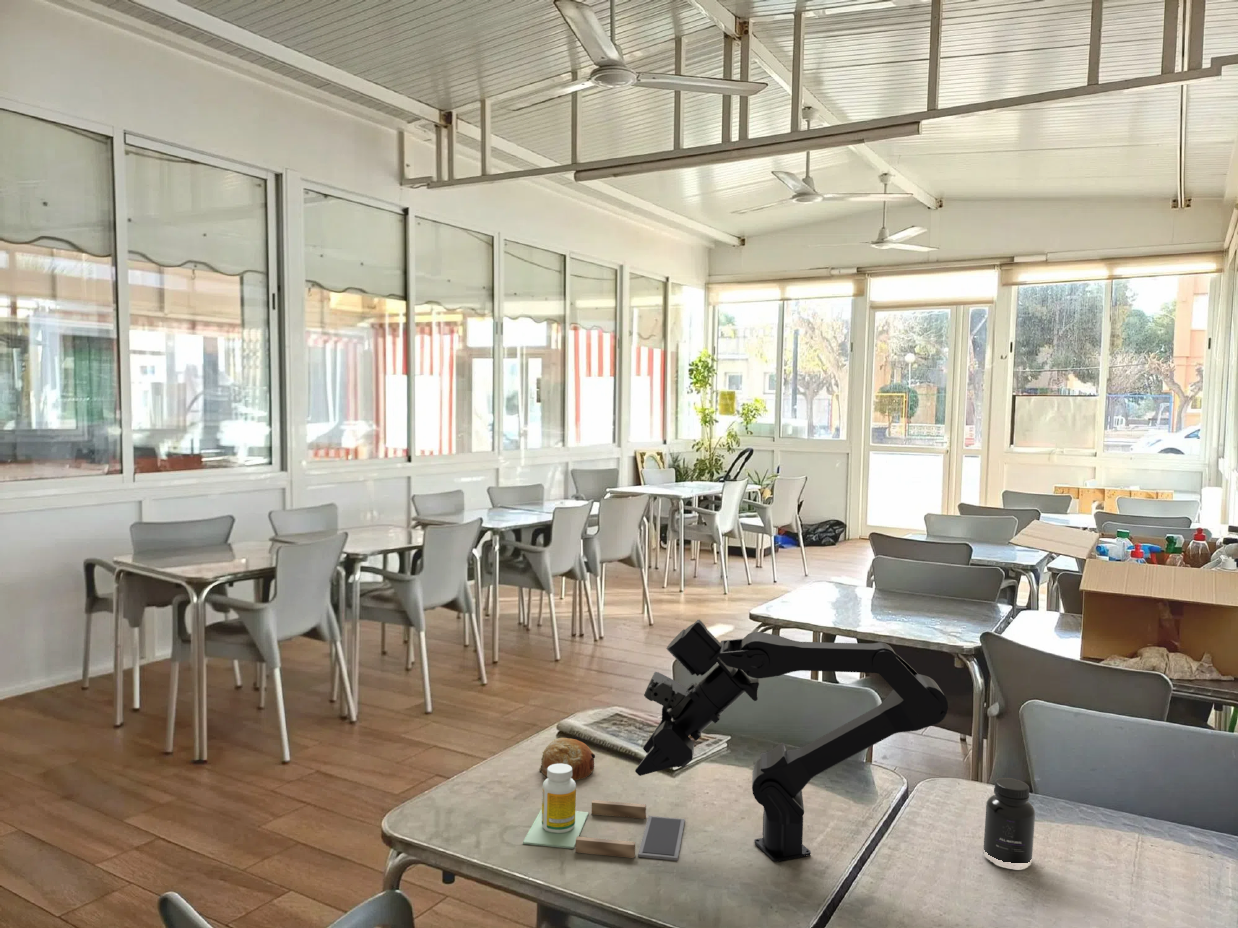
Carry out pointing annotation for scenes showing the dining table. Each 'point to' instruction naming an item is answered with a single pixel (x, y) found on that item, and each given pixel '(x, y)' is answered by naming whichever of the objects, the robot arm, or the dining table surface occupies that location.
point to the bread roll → (569, 757)
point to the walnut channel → (608, 845)
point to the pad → (562, 840)
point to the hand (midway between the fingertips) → (641, 761)
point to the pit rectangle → (662, 838)
